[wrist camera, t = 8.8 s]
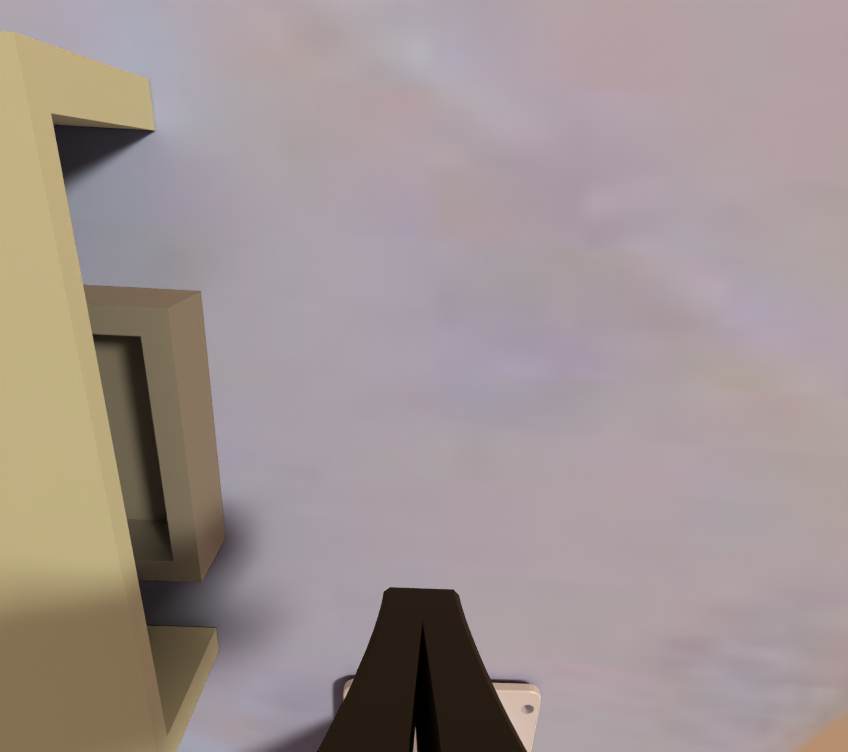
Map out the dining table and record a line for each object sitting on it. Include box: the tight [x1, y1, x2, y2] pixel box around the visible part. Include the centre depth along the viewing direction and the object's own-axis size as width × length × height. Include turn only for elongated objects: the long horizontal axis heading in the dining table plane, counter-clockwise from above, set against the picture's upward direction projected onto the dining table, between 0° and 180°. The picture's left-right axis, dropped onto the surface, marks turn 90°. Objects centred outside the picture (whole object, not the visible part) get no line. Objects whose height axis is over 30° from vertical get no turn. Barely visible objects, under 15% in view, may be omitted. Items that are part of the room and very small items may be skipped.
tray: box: [83, 285, 226, 583], centre depth 16 cm, size 9×11×3 cm
